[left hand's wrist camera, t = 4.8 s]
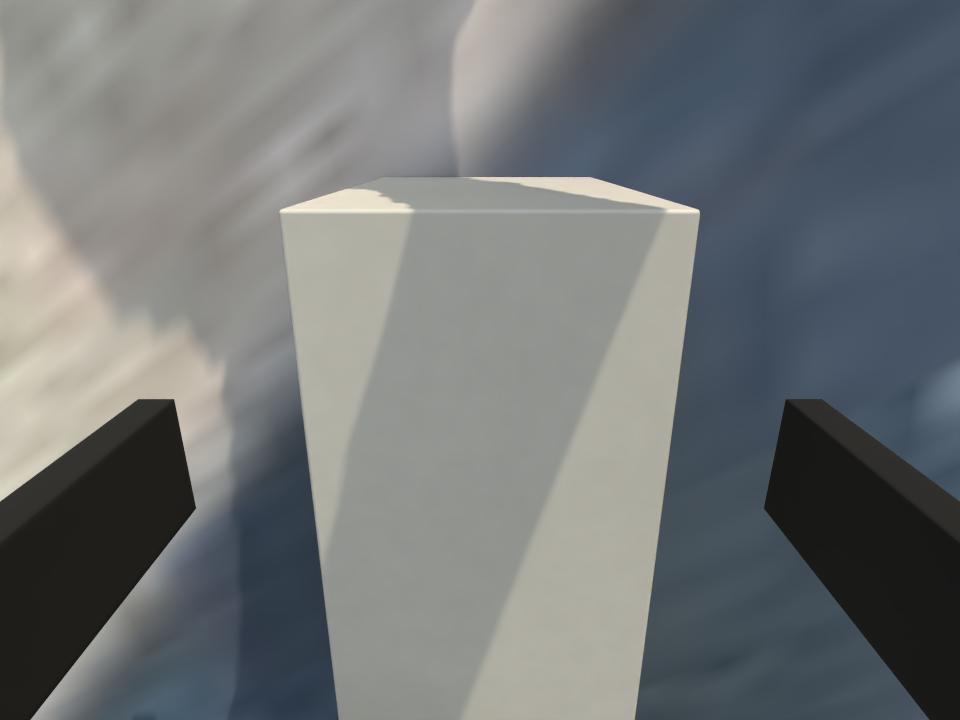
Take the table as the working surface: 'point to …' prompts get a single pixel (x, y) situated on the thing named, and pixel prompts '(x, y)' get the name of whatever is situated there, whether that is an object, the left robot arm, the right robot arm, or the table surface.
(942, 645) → the left robot arm
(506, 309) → the bar
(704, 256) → the table surface
